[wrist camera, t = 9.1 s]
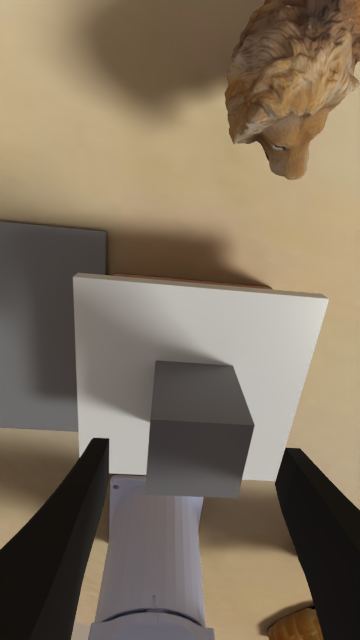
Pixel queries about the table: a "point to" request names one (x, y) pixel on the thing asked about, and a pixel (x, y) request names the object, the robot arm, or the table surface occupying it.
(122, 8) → the table surface
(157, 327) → the lid
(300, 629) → the pastry
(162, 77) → the table surface
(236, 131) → the lion figurine
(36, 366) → the mat
